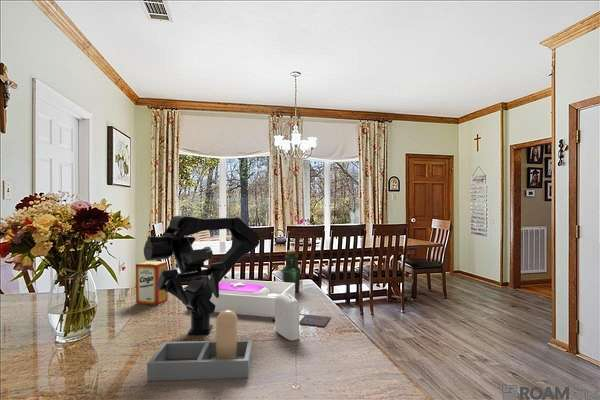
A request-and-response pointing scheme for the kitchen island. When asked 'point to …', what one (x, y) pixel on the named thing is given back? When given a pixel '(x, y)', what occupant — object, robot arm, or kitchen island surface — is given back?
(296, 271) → the potion bottle
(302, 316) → the chocolate bar
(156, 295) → the baking soda box
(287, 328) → the white flat bottle
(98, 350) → the kitchen island surface
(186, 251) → the robot arm
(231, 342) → the beige rounded cylinder
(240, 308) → the white tray
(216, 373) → the carton frame
